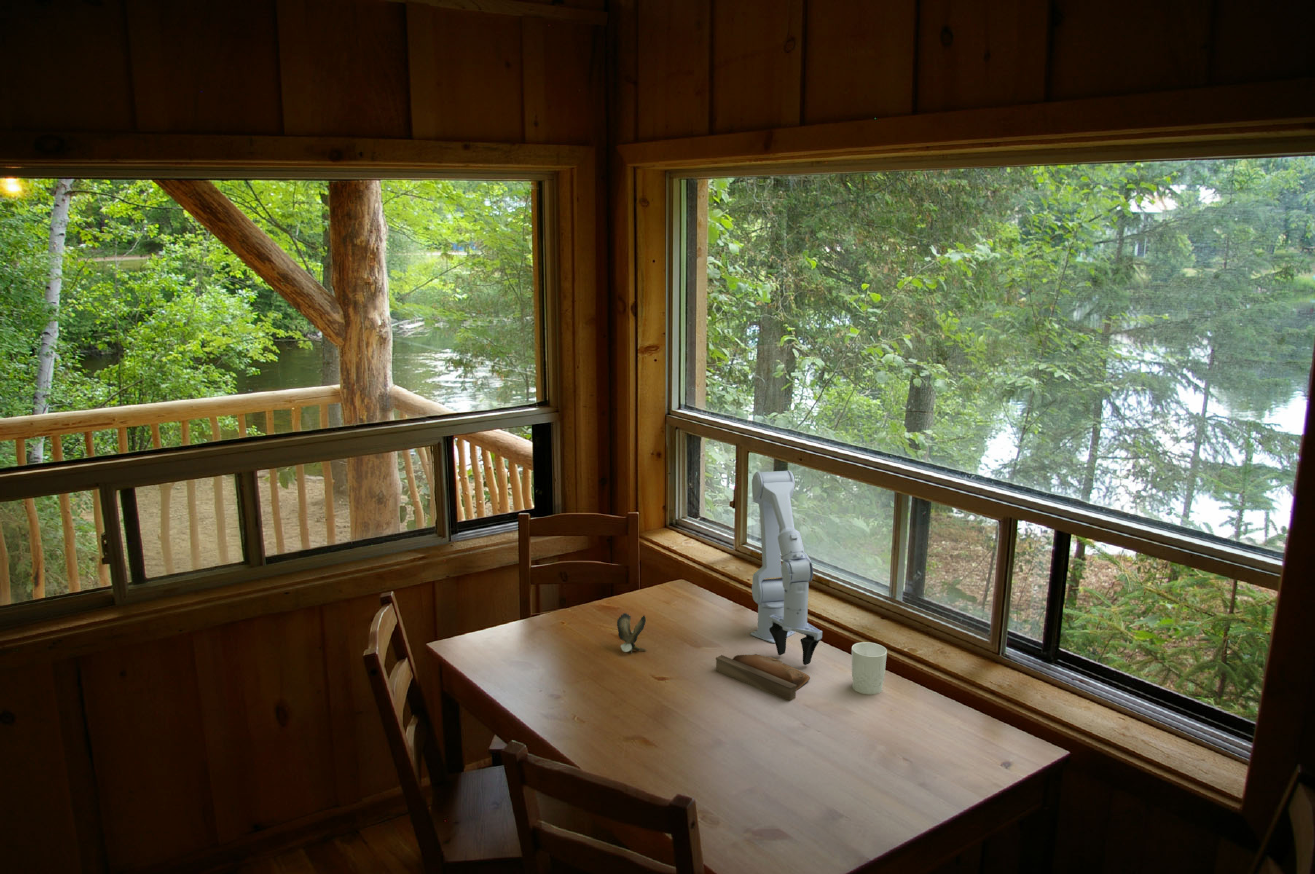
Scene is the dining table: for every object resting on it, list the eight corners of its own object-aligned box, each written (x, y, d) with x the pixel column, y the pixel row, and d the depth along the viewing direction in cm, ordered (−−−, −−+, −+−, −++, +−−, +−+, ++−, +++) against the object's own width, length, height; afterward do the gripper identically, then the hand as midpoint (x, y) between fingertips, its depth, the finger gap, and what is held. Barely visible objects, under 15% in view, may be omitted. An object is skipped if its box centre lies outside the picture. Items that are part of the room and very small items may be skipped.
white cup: (845, 692, 204) (847, 652, 202) (855, 679, 211) (856, 639, 209) (880, 700, 200) (882, 659, 198) (888, 686, 207) (890, 646, 205)
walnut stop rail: (721, 667, 216) (721, 654, 215) (796, 698, 201) (796, 684, 200) (715, 670, 215) (715, 657, 214) (790, 702, 199) (790, 688, 199)
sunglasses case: (812, 675, 209) (803, 660, 205) (799, 701, 205) (789, 686, 202) (751, 653, 221) (741, 638, 217) (737, 677, 218) (727, 662, 214)
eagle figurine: (647, 644, 229) (647, 611, 228) (646, 656, 222) (646, 622, 221) (617, 644, 230) (617, 611, 228) (615, 656, 223) (615, 622, 221)
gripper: (761, 602, 218) (760, 654, 220) (810, 619, 208) (808, 673, 210) (779, 595, 223) (777, 646, 225) (828, 611, 213) (825, 663, 215)
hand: (793, 658), depth 218 cm, fingers open, 7 cm apart
